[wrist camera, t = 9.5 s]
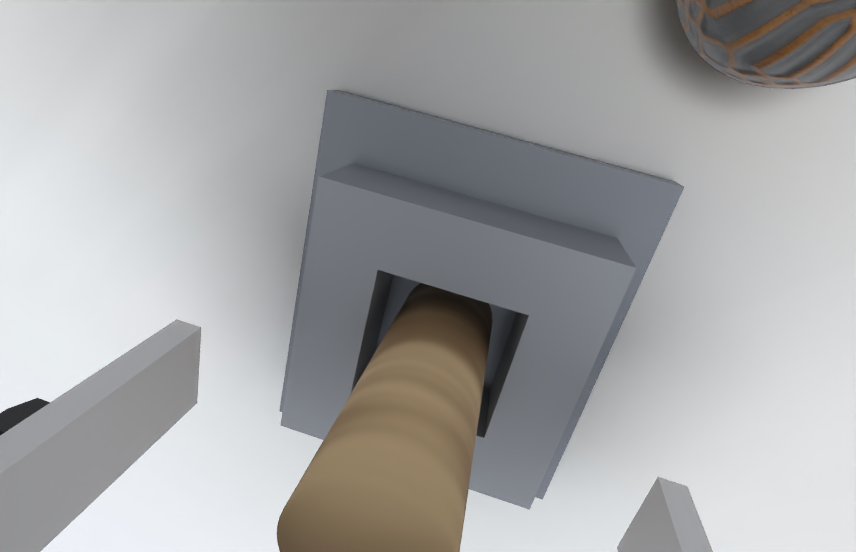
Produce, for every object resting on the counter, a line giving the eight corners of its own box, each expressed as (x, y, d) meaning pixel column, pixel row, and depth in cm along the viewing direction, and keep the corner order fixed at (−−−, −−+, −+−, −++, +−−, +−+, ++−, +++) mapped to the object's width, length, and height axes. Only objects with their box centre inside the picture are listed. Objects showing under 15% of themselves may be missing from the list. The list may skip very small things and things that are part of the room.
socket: (338, 90, 20) (286, 89, 16) (674, 181, 19) (719, 207, 15) (289, 397, 26) (243, 457, 22) (541, 481, 25) (545, 562, 21)
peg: (414, 264, 21) (289, 456, 10) (504, 291, 21) (479, 522, 9) (394, 342, 22) (267, 584, 11) (478, 369, 22) (430, 644, 11)
